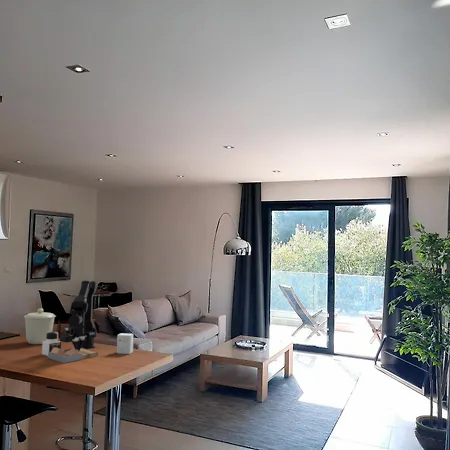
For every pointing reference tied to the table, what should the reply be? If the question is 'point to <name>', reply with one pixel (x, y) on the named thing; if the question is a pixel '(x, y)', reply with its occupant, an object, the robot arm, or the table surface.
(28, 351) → the table surface
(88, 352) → the board
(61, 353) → the tile
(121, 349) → the small box
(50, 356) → the tray
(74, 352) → the peach square block
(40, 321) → the canister
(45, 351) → the medicine bottle
